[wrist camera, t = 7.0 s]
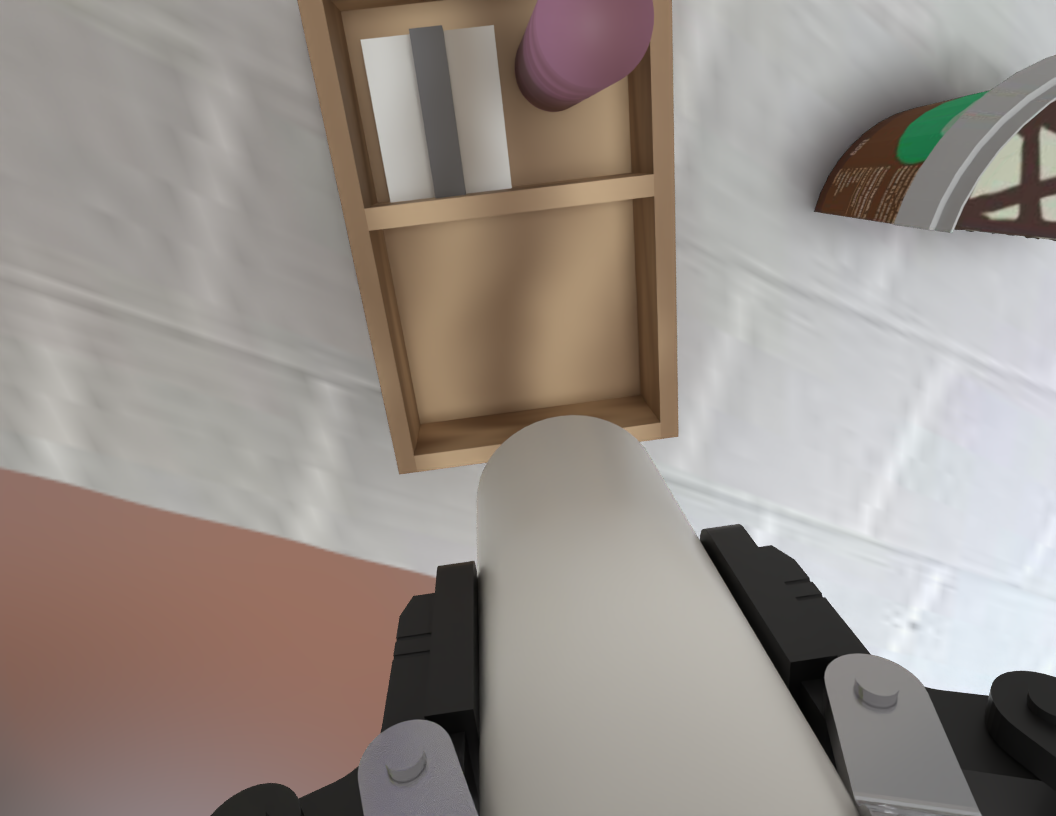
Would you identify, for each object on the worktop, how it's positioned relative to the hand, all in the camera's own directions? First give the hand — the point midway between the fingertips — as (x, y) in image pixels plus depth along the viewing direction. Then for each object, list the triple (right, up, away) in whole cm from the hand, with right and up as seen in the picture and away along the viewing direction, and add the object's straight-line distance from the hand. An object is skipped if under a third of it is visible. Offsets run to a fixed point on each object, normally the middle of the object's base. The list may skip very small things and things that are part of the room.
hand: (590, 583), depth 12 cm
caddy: (-2, +12, +15) cm, 19 cm away
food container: (+17, +15, +16) cm, 28 cm away
